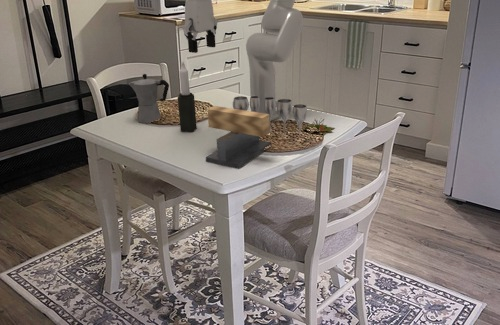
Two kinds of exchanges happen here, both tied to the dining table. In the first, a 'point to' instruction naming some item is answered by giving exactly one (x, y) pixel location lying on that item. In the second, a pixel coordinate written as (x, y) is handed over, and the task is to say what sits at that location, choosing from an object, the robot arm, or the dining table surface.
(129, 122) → the dining table surface
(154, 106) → the coffeepot
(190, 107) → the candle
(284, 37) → the robot arm
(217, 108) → the oak beam
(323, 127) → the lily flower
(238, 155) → the steel ridge
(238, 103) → the goblet set
